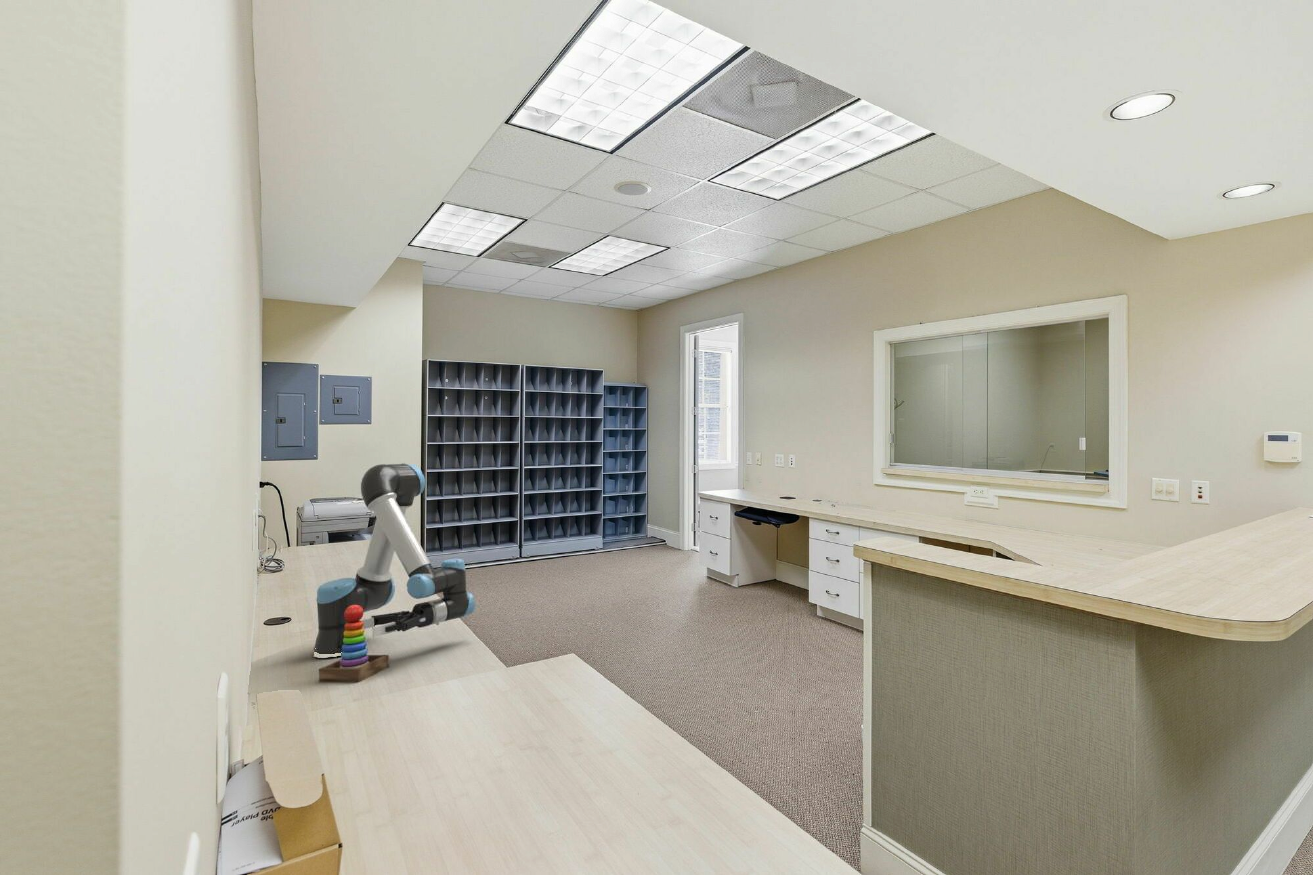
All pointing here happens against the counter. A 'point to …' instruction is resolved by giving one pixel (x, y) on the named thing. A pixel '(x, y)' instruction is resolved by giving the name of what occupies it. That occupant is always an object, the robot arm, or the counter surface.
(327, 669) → the tray
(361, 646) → the stacking toy
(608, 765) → the counter surface
